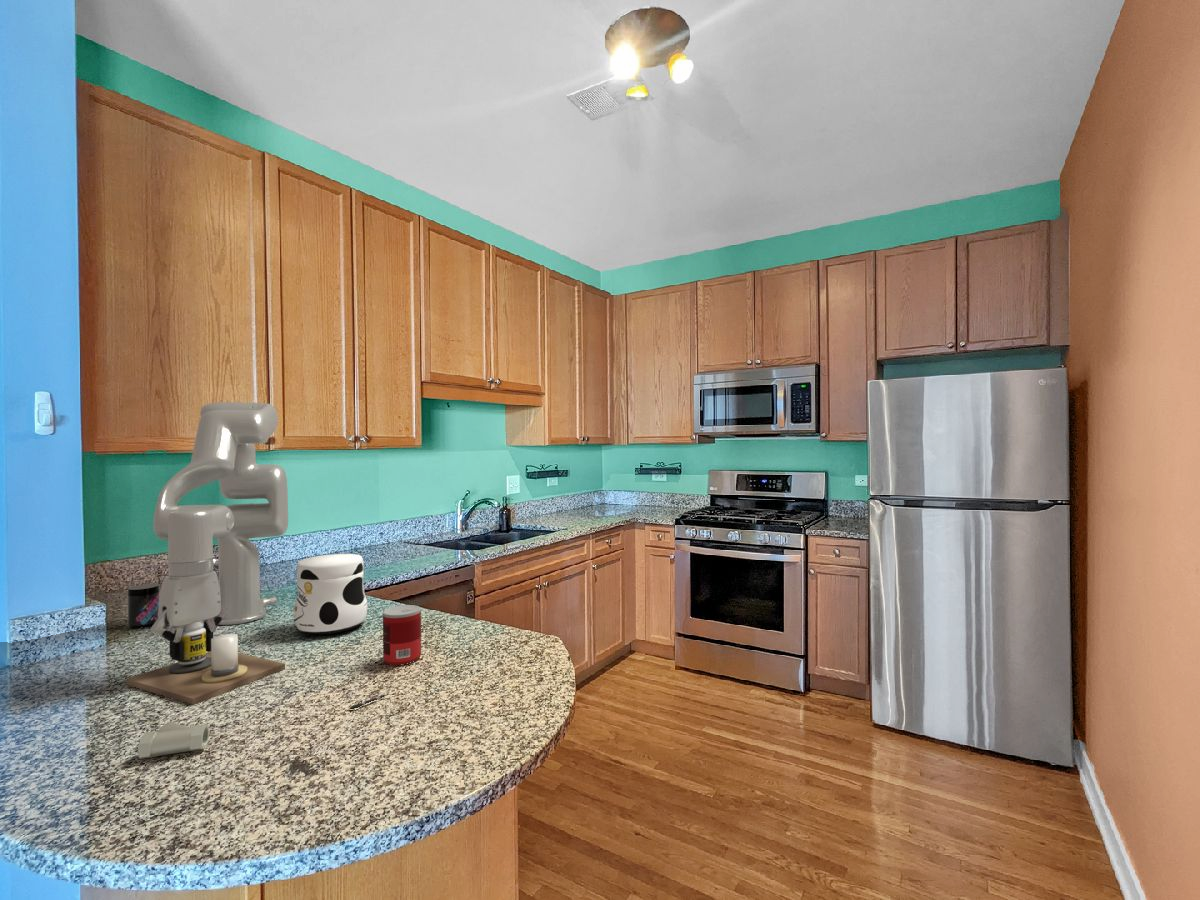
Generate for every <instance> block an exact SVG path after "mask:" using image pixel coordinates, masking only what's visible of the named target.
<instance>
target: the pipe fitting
mask: <svg viewBox="0 0 1200 900" xmlns="http://www.w3.org/2000/svg"><path fill="white" fill-rule="evenodd" d="M209 738H210V727H209V724H205V723H203V724H197V725H195V724H194V726H193V727H192V726H191V727H190V726H188V725H184V724H181V723H175V722H168V723H165V724H163V725H162V726H161V727H159V729H158V730H157V731H155V730H154V731H148V732H144V733H143V734H142V736H141V738H140V740H139V742H138V747H137V748H138V749H137V755H138V759H139V760H146V759H145V758H147V759H152V757H153V758H155V757H160V756H165V755H172V754H178V753H185V752H196V751H204V750H205V749H206V748H207V746H208V743H209Z"/></svg>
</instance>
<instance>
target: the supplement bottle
mask: <svg viewBox="0 0 1200 900" xmlns="http://www.w3.org/2000/svg"><path fill="white" fill-rule="evenodd" d="M203 626H204V621H199V622H195V623H192V624H190V625H186V626H184V628H183V632H182V636H181V641H183V642H184V659H183V660H182V661H177V662H178V663H179V664H181V665H189V664H195V663H198V662H201V661H203V660H204V659H205V658H206V653H207V651H206V629H205V628H204V627H203Z"/></svg>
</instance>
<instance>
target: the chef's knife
mask: <svg viewBox="0 0 1200 900" xmlns="http://www.w3.org/2000/svg"><path fill="white" fill-rule="evenodd" d="M384 696H386V695H385V694H381V695H379V696H376V697H373V698H370V699H367V700H364V701H362V702H358V703H357V704H354V705H353V704H352V706H350V707H349V709H354V708H358V707H360V706H362V705H364V704H366V703H369V702H371V701H374V700H377V699H380V698H382V697H384Z"/></svg>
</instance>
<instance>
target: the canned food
mask: <svg viewBox="0 0 1200 900" xmlns="http://www.w3.org/2000/svg"><path fill="white" fill-rule="evenodd" d="M382 653H383V655H382V657H383V658H382V659H383V662H384V663H386V664H385V665H387V664H391V665H401V664H407V663H410V662H413V661H415V660H417V659H418V658H419V657H420V658H421V655H422V610H421V607H420V606H419V605H413V604H402V605H396V606H392V607H388V608H387V609H385V610H383V612H382ZM420 658H419V659H420ZM419 659H418V660H419ZM418 660H417V661H418ZM415 662H416V661H415ZM413 663H414V662H413ZM407 665H408V664H407ZM401 666H402V665H401Z"/></svg>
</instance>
